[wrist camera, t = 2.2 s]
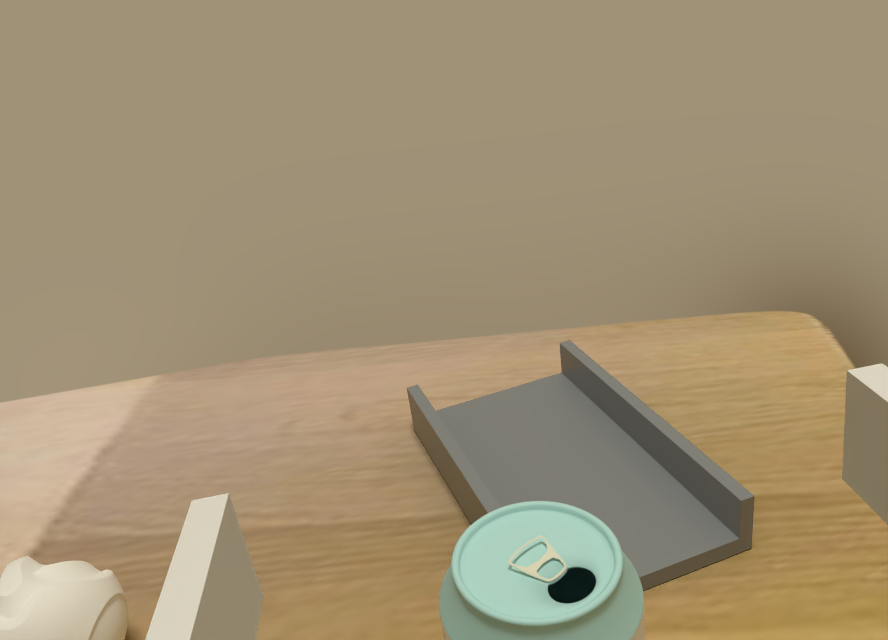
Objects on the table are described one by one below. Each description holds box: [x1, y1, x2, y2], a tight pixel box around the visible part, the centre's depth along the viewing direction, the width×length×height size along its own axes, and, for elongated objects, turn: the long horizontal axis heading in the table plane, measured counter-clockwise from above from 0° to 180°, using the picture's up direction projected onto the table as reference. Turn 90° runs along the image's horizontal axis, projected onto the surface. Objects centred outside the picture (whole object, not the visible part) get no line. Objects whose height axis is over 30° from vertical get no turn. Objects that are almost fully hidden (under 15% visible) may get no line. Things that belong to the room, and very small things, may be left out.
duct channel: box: [407, 340, 754, 591], centre depth 48 cm, size 13×20×4 cm, turn 20°
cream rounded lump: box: [0, 556, 128, 640], centre depth 37 cm, size 8×8×8 cm
